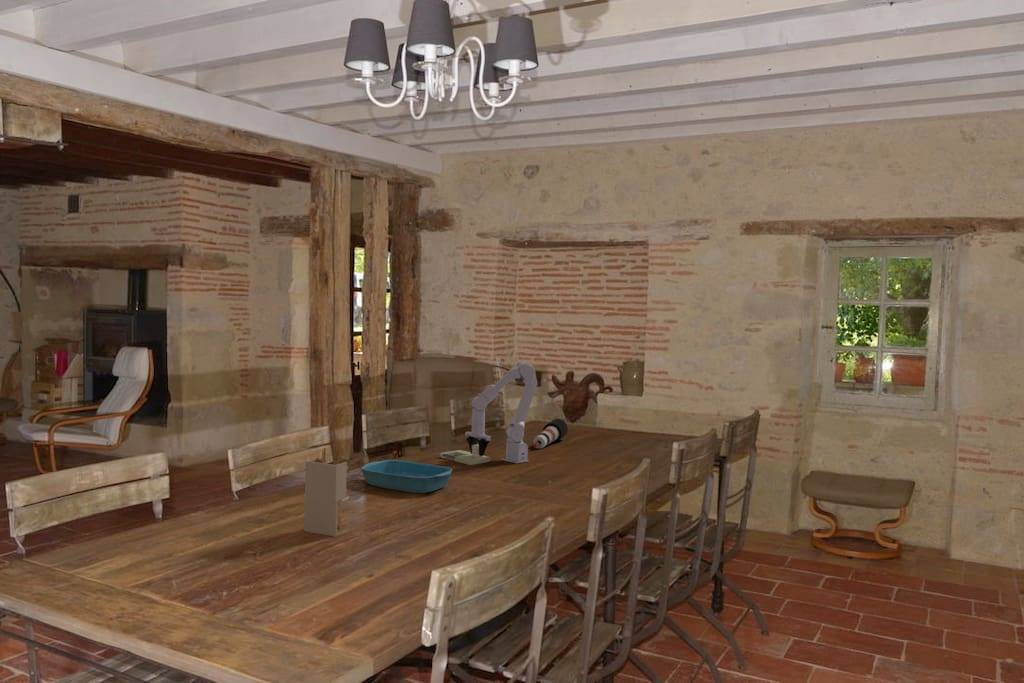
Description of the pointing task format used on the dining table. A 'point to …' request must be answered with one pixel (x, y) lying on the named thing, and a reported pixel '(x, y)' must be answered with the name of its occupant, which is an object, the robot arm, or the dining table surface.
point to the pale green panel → (464, 457)
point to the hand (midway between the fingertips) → (477, 454)
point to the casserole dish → (406, 475)
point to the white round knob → (475, 451)
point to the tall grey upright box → (324, 495)
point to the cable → (551, 433)
